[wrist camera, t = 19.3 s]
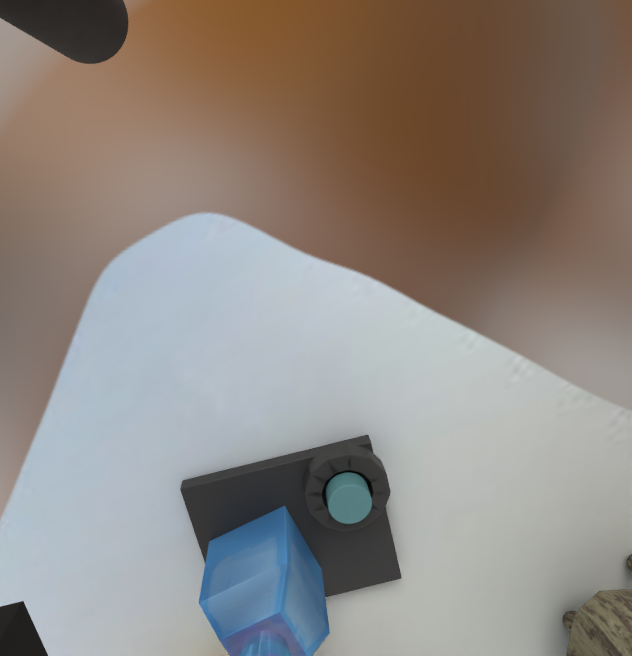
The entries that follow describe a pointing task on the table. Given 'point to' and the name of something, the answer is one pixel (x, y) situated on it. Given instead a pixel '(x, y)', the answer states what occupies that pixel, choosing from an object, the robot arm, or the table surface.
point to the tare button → (348, 498)
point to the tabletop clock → (602, 624)
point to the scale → (304, 509)
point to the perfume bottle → (265, 590)
